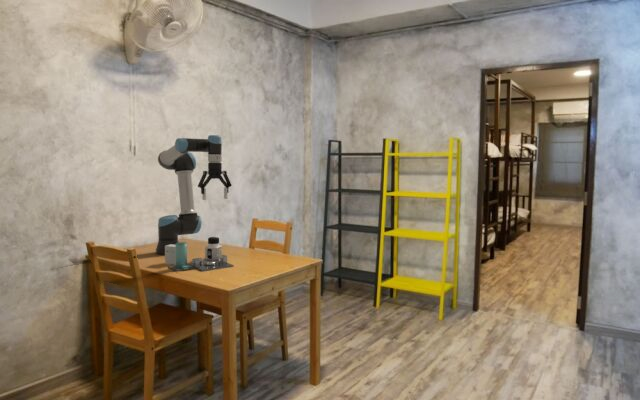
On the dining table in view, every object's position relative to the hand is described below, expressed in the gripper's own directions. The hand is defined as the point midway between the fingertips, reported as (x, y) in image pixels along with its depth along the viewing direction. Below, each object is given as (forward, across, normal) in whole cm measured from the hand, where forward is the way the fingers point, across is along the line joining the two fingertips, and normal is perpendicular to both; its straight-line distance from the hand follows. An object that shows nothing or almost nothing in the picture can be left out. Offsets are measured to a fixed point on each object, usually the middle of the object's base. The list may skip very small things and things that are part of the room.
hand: (215, 199), depth 263 cm
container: (+37, +3, +8) cm, 38 cm away
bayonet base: (+37, -7, -7) cm, 38 cm away
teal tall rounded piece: (+36, -22, -3) cm, 42 cm away
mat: (+37, -22, -3) cm, 43 cm away
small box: (+37, -21, +10) cm, 44 cm away
